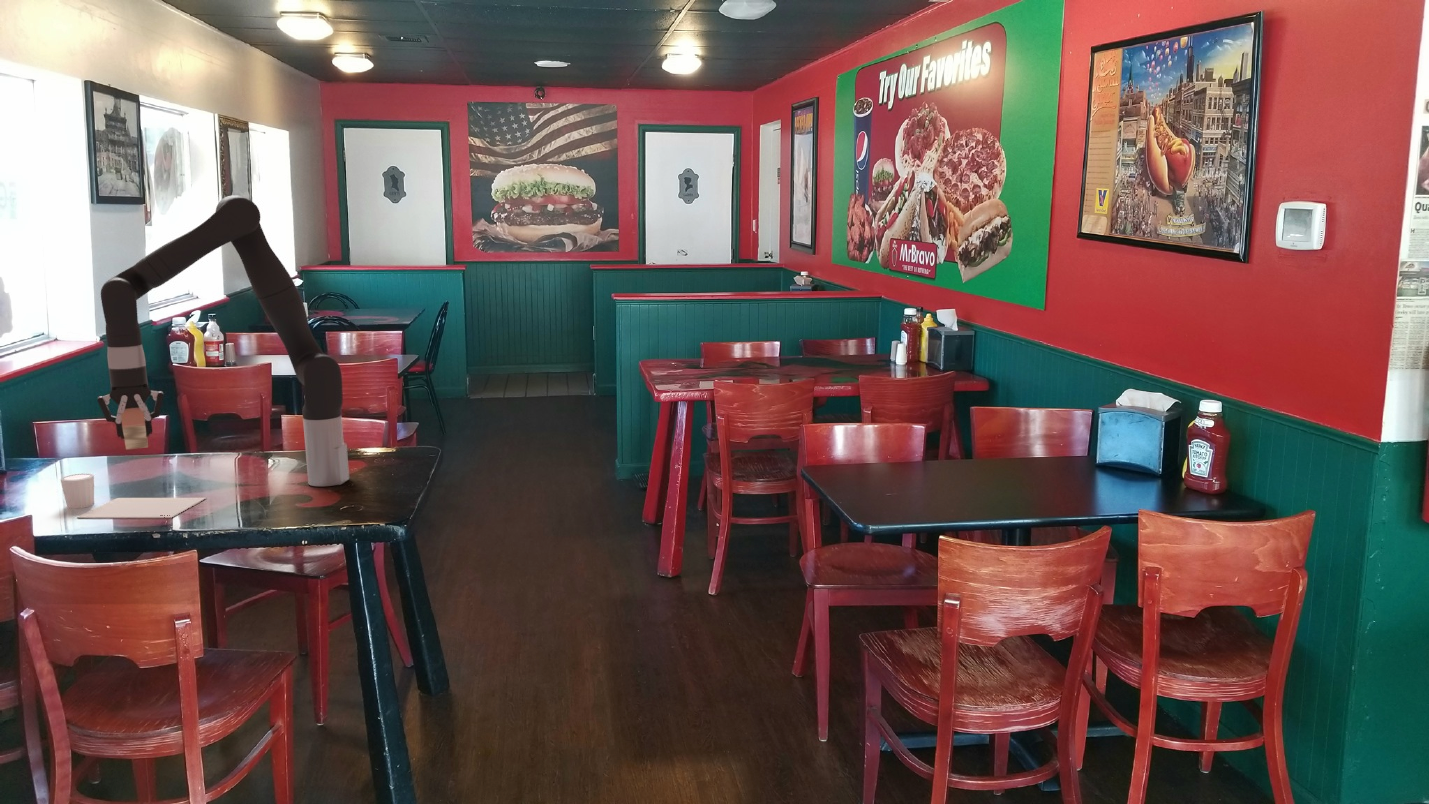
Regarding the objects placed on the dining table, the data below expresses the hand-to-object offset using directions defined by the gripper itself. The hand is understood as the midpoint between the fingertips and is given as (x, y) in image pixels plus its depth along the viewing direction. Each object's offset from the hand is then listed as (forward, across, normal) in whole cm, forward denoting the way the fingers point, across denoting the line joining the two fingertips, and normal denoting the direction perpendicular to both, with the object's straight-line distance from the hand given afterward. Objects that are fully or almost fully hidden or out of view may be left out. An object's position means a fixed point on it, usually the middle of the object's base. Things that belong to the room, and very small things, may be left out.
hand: (135, 436), depth 247 cm
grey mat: (+17, 0, 0) cm, 17 cm away
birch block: (+2, 0, +4) cm, 5 cm away
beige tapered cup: (+17, -13, +11) cm, 24 cm away
